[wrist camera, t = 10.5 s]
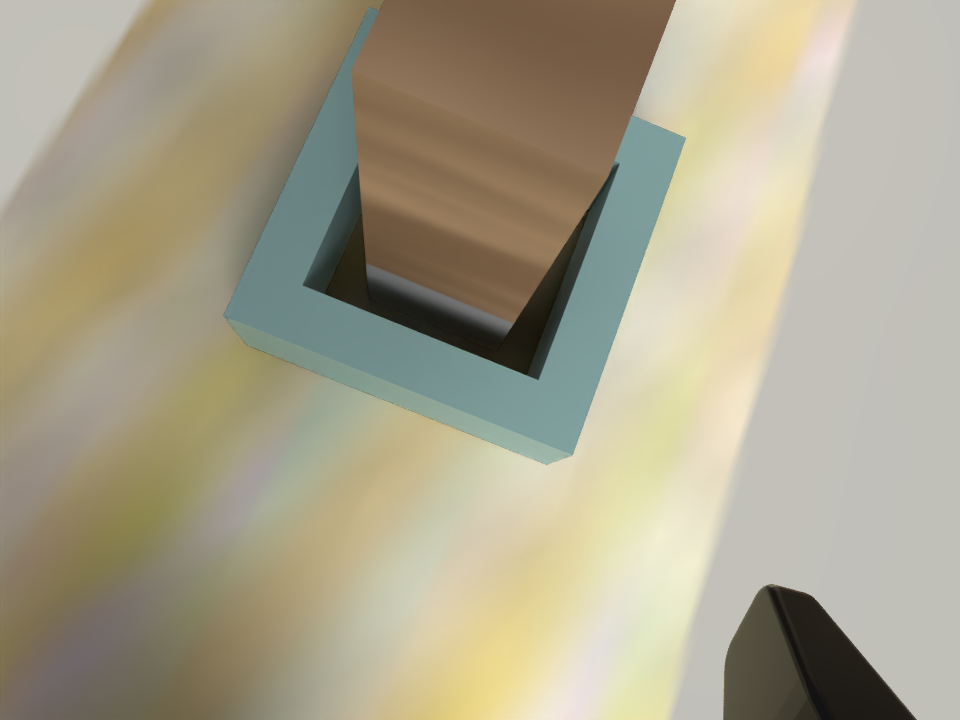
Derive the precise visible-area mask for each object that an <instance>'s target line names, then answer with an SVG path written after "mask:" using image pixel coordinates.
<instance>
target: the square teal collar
mask: <svg viewBox="0 0 960 720" xmlns="http://www.w3.org/2000/svg"><path fill="white" fill-rule="evenodd" d="M378 13H379V11H378V10H376V9H374V8H371V7H369V8H368V10H367V13H366V15H365V17H364V19H363V21H362V23H361V25H360V27H359V29H358V32H357V34H356V36H355V38H354V40H353V42H352V44H351V46H350V49H349V51H348V53H347V55H346V57H345V59H344V61H343V63H342V65H341V68H340V70H339V72H338V74H337V76H336V78H335V80H334V82H333V84H332V87H331V89H330V91H329V93H328V95H327V97H326V99H325V101H324V104H323V106H322V108H321V110H320V112H319V114H318V116H317V118H316V120H315V123H314V125H313V127H312V129H311V131H310V133H309V135H308V137H307V140H306V142H305V144H304V146H303V148H302V150H301V152H300V154H299V156H298V159H297V161H296V163H295V165H294V167H293V169H292V171H291V173H290V176H289V178H288V180H287V182H286V184H285V186H284V188H283V190H282V192H281V195H280V197H279V199H278V201H277V203H276V205H275V207H274V209H273V212H272V214H271V216H270V218H269V220H268V222H267V224H266V226H265V228H264V231H263V233H262V235H261V237H260V239H259V241H258V243H257V245H256V247H255V250H254V252H253V254H252V256H251V258H250V260H249V262H248V264H247V267H246V269H245V271H244V273H243V275H242V277H241V279H240V281H239V283H238V286H237V288H236V290H235V292H234V294H233V296H232V298H231V300H230V303H229V305H228V307H227V309H226V311H225V313H224V315H223V316H224V317H225V319H226V320H227V321H228V322H229V324H230V325H231V326H232V327H233V329H234V330H235V331H236V333H237V334H238V335H239V336H240V338H241V339H242V340H243V341H244V343H245V344H246V345H247V346H250V347H253V348H255V349H258V350H260V351H263V352H265V353H268V354H270V355H273V356H275V357H278V358H280V359H283V360H285V361H288V362H290V363H293V364H295V365H298V366H300V367H303V368H305V369H308V370H310V371H313V372H315V373H318V374H320V375H323V376H325V377H328V378H330V379H333V380H335V381H338V382H340V383H343V384H345V385H348V386H350V387H353V388H355V389H358V390H360V391H363V392H365V393H368V394H370V395H373V396H375V397H378V398H381V399H383V400H386V401H388V402H391V403H393V404H396V405H398V406H401V407H403V408H406V409H408V410H411V411H413V412H416V413H418V414H421V415H423V416H426V417H428V418H431V419H433V420H436V421H438V422H441V423H443V424H446V425H448V426H451V427H453V428H456V429H458V430H461V431H463V432H466V433H468V434H471V435H473V436H476V437H478V438H481V439H483V440H486V441H488V442H491V443H493V444H496V445H498V446H501V447H503V448H506V449H509V450H511V451H514V452H516V453H519V454H521V455H524V456H526V457H529V458H531V459H534V460H536V461H539V462H541V463H544V464H546V465H547V464H550V463H552V462H555V461H558V460H561V459H564V458H566V457H569V456H572V455H573V453H574V450H575V447H576V444H577V442H578V439H579V436H580V433H581V430H582V428H583V425H584V422H585V419H586V416H587V414H588V411H589V408H590V405H591V402H592V400H593V397H594V394H595V391H596V388H597V386H598V383H599V380H600V377H601V374H602V372H603V369H604V366H605V363H606V360H607V358H608V355H609V352H610V349H611V346H612V344H613V341H614V338H615V335H616V332H617V330H618V327H619V324H620V321H621V318H622V316H623V313H624V310H625V307H626V305H627V302H628V299H629V296H630V293H631V291H632V288H633V285H634V282H635V279H636V277H637V274H638V271H639V268H640V265H641V263H642V260H643V257H644V254H645V251H646V249H647V246H648V243H649V240H650V237H651V235H652V232H653V229H654V226H655V223H656V221H657V218H658V215H659V212H660V209H661V207H662V204H663V201H664V198H665V195H666V193H667V190H668V187H669V184H670V181H671V179H672V176H673V173H674V170H675V167H676V165H677V162H678V159H679V156H680V153H681V151H682V148H683V145H684V142H685V140H686V138H685V137H683V136H680V135H678V134H676V133H673V132H671V131H668V130H666V129H663V128H661V127H659V126H656V125H654V124H651V123H649V122H647V121H644V120H642V119H639V118H637V117H634V116H631V119H630V121H629V124H628V127H627V129H626V132H625V134H624V137H623V140H622V142H621V145H620V147H619V150H618V153H617V155H616V158H615V160H614V163H613V166H612V168H611V171H610V173H609V176H608V178H607V180H606V181H605V183H604V184H603V186H602V187H601V189H600V191H599V192H598V194H597V195H596V197H595V198H594V200H593V201H592V203H591V205H590V206H589V208H588V209H587V210H589V213H588V215H587V218H586V221H585V223H584V226H583V229H582V231H581V234H580V236H579V239H578V242H577V244H576V247H575V250H574V252H573V255H572V258H571V260H570V263H569V266H568V268H567V271H566V273H565V276H564V279H563V281H562V284H561V287H560V289H559V292H558V295H557V297H556V300H555V302H554V305H553V308H552V310H551V313H550V316H549V318H548V321H547V324H546V326H545V329H544V332H543V334H542V337H541V339H540V342H539V345H538V347H537V350H536V353H535V355H534V358H533V361H532V363H531V366H530V369H529V371H528V374H527V375H524V374H522V373H519V372H517V371H514V370H512V369H509V368H507V367H504V366H502V365H499V364H497V363H494V362H492V361H489V360H487V359H484V358H482V357H479V356H477V355H474V354H472V353H469V352H467V351H464V350H462V349H459V348H457V347H454V346H452V345H450V344H447V343H445V342H442V341H440V340H437V339H435V338H432V337H430V336H427V335H425V334H422V333H420V332H417V331H415V330H412V329H410V328H407V327H405V326H402V325H400V324H397V323H395V322H392V321H390V320H387V319H385V318H382V317H380V316H377V315H375V314H372V313H370V312H367V311H365V310H362V309H360V308H357V307H355V306H352V305H350V304H347V303H345V302H342V301H340V300H337V299H335V298H333V297H330V296H328V295H325V293H326V290H327V288H328V286H329V284H330V281H331V279H332V277H333V275H334V273H335V270H336V268H337V266H338V264H339V261H340V259H341V257H342V255H343V252H344V250H345V248H346V246H347V243H348V241H349V239H350V237H351V234H352V232H353V230H354V228H355V225H356V223H357V221H358V219H359V216H360V214H361V212H362V205H361V192H360V179H359V166H358V153H357V140H356V127H355V114H354V101H353V88H352V75H351V69H352V67H353V65H354V63H355V61H356V59H357V57H358V55H359V53H360V50H361V48H362V46H363V44H364V42H365V40H366V38H367V36H368V34H369V32H370V29H371V27H372V25H373V23H374V21H375V19H376V17H377V15H378Z"/></svg>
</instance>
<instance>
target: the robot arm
mask: <svg viewBox="0 0 960 720" xmlns="http://www.w3.org/2000/svg"><path fill="white" fill-rule="evenodd" d="M723 720H917V719H916V718H915V717H914V716H913V715H912V713H911V712H910V711H909V710H908V709H907V707H906V706H905V705H904V704H903V703H902V701H901V700H900V699H899V698H898V697H897V696H896V694H895V693H894V692H893V691H892V690H891V688H890V687H889V686H888V685H887V684H886V682H885V681H884V680H883V679H882V678H881V677H880V675H879V674H878V673H877V672H876V671H875V669H874V668H873V667H872V666H871V665H870V664H869V662H868V661H867V660H866V659H865V657H864V656H863V655H862V654H861V653H860V652H859V650H858V649H857V648H856V647H855V646H854V644H853V643H852V642H851V641H850V640H849V638H848V637H847V636H846V635H845V634H844V632H843V631H842V630H841V629H840V628H839V627H838V625H837V624H836V623H835V622H834V621H833V620H832V618H831V617H830V616H829V615H828V614H827V612H826V611H825V610H824V609H823V607H822V606H821V605H820V604H819V603H818V602H817V601H816V600H815V599H814V598H813V597H812V596H811V595H809V594H806V593H804V592H799V591H796V590H793V589H789V588H785V587H782V586H778V585H774V584H770V585H766V586H764V587H763V588H761V590H760V591H759V592H758V593H757V595H756V596H755V598H754V600H753V602H752V604H751V606H750V607H749V609H748V611H747V613H746V615H745V617H744V619H743V621H742V622H741V624H740V626H739V628H738V630H737V632H736V634H735V635H734V637H733V639H732V641H731V643H730V646H729V648H728V652H727V655H726V661H725V670H724V708H723Z"/></svg>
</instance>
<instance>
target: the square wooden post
mask: <svg viewBox="0 0 960 720" xmlns="http://www.w3.org/2000/svg"><path fill="white" fill-rule="evenodd" d="M675 2H676V0H384V2H383V4H382V6H381V9H380V11H379V13H378V15H377V17H376V19H375V21H374V23H373V25H372V27H371V29H370V32H369V34H368V36H367V38H366V40H365V42H364V44H363V46H362V48H361V50H360V53H359V55H358V57H357V59H356V61H355V63H354V65H353V67H352V69H351V75H352V88H353V101H354V114H355V127H356V140H357V153H358V166H359V179H360V192H361V205H362V218H363V231H364V245H365V258H366V271H367V284H368V297H369V299H371V300H373V301H376V302H378V303H381V304H383V305H386V306H388V307H390V308H393V309H395V310H398V311H400V312H403V313H405V314H408V315H410V316H412V317H415V318H417V319H420V320H422V321H425V322H427V323H429V324H432V325H434V326H437V327H439V328H442V329H444V330H447V331H449V332H451V333H454V334H456V335H459V336H461V337H464V338H466V339H469V340H471V341H473V342H476V343H478V344H481V345H483V346H486V347H488V348H491V349H493V350H495V351H497V349H498V347H499V346H500V344H501V343H502V341H503V340H504V338H505V337H506V335H507V333H508V332H509V330H510V329H511V327H512V326H513V324H514V323H515V321H516V320H517V318H518V316H519V315H520V313H521V312H522V310H523V309H524V307H525V306H526V304H527V302H528V301H529V299H530V298H531V296H532V295H533V293H534V292H535V290H536V288H537V287H538V285H539V284H540V282H541V281H542V279H543V278H544V276H545V274H546V273H547V271H548V270H549V268H550V267H551V265H552V264H553V262H554V260H555V259H556V257H557V256H558V254H559V253H560V251H561V250H562V248H563V246H564V245H565V243H566V242H567V240H568V239H569V237H570V236H571V234H572V232H573V231H574V229H575V228H576V226H577V225H578V223H579V222H580V220H581V219H582V217H583V215H584V214H585V212H586V211H587V209H588V208H589V206H590V205H591V203H592V201H593V200H594V198H595V197H596V195H597V194H598V192H599V191H600V189H601V187H602V186H603V184H604V183H605V181H606V180H607V178H608V176H609V173H610V171H611V168H612V166H613V163H614V160H615V158H616V155H617V153H618V150H619V147H620V145H621V142H622V140H623V137H624V134H625V132H626V129H627V127H628V124H629V121H630V119H631V116H632V114H633V111H634V108H635V106H636V103H637V101H638V98H639V95H640V93H641V90H642V88H643V85H644V82H645V80H646V77H647V75H648V72H649V69H650V67H651V64H652V62H653V59H654V56H655V54H656V51H657V49H658V46H659V43H660V41H661V38H662V36H663V33H664V30H665V28H666V25H667V23H668V20H669V17H670V15H671V12H672V10H673V7H674V4H675Z"/></svg>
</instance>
